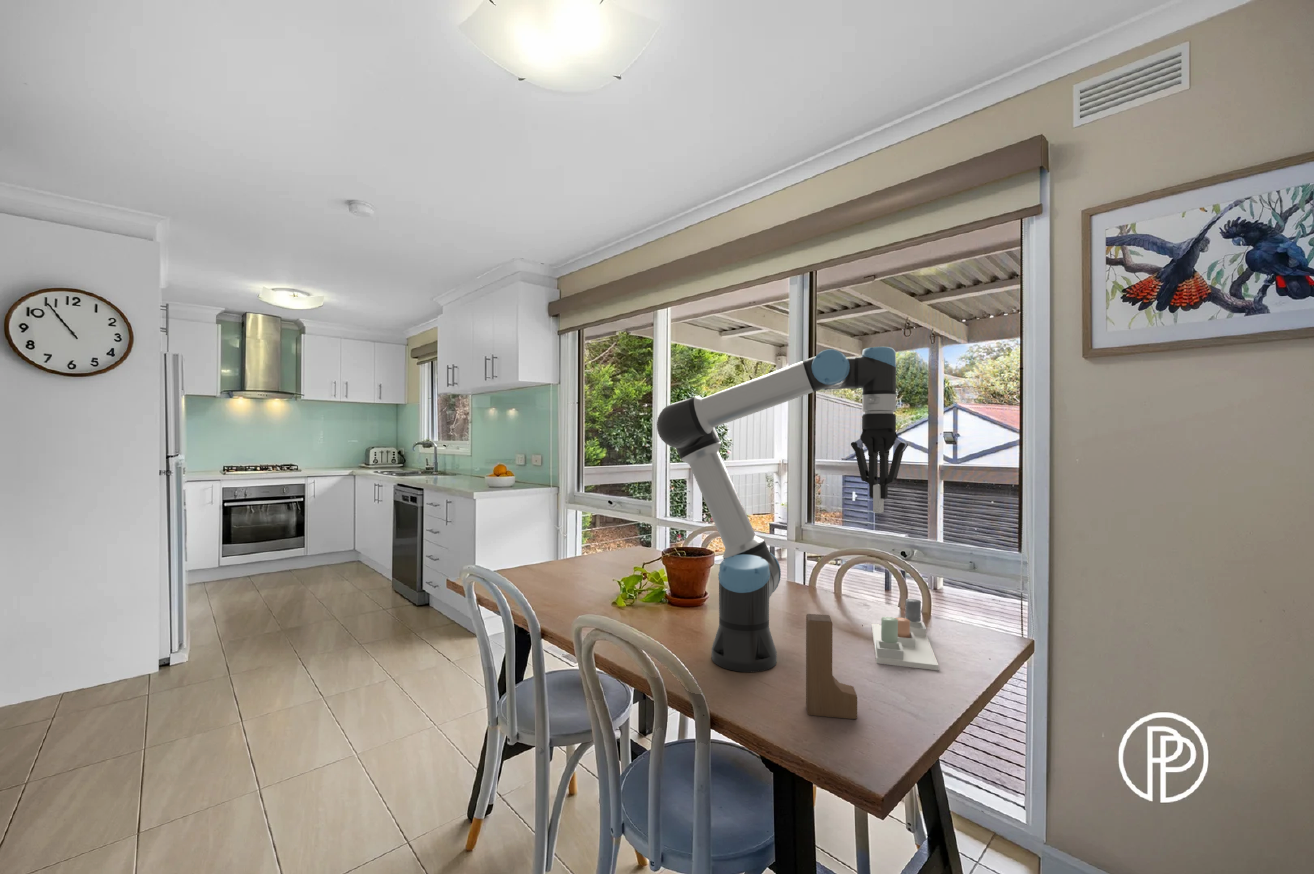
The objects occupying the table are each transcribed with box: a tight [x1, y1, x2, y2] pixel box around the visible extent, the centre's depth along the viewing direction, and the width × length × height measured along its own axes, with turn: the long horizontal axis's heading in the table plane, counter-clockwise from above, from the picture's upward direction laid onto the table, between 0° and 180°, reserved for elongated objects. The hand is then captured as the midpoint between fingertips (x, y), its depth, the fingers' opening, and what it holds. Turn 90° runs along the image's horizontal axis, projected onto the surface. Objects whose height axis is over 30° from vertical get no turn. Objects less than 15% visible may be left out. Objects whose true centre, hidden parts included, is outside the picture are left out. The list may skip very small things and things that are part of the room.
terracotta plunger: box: [895, 617, 910, 638], centre depth 142 cm, size 4×4×5 cm
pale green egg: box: [880, 616, 898, 643], centre depth 134 cm, size 4×4×5 cm
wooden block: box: [805, 613, 858, 720], centre depth 109 cm, size 9×4×18 cm, turn 80°
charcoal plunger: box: [905, 598, 922, 622], centre depth 149 cm, size 4×4×5 cm
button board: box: [871, 621, 940, 671], centre depth 142 cm, size 13×25×3 cm, turn 162°
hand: (878, 512), depth 136 cm, fingers closed
